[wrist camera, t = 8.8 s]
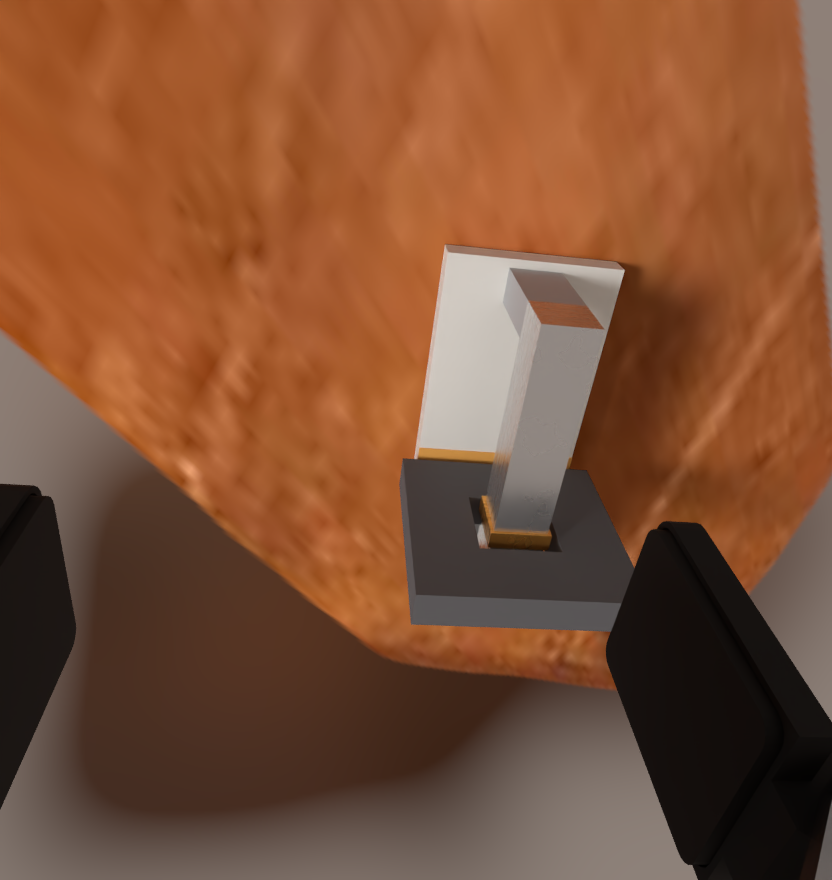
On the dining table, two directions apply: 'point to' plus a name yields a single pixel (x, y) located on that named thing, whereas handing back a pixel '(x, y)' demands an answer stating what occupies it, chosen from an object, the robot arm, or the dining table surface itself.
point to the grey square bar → (539, 424)
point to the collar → (507, 556)
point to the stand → (494, 340)
